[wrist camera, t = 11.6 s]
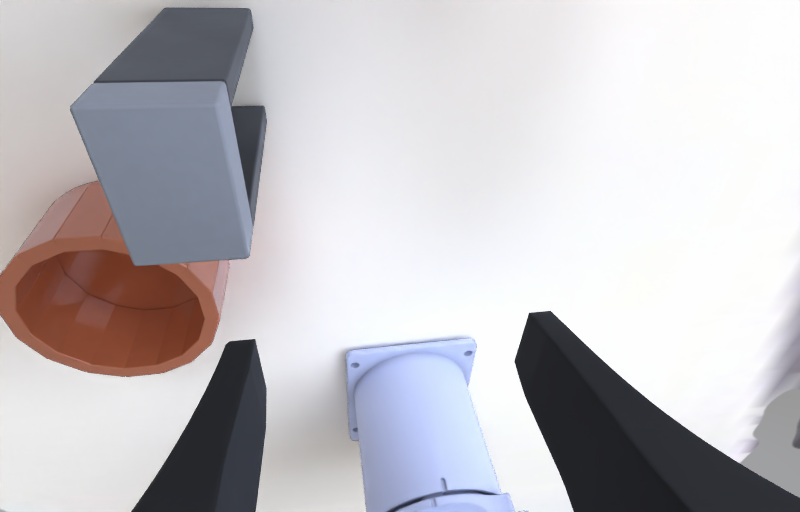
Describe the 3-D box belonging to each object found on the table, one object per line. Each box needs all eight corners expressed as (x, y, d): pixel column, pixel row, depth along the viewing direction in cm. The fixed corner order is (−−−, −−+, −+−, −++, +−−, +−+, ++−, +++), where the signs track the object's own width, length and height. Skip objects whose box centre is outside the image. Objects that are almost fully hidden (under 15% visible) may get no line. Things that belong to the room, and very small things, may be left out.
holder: (241, 304, 24) (233, 366, 21) (81, 318, 23) (49, 385, 20) (210, 174, 20) (194, 231, 17) (7, 183, 19) (-50, 245, 15)
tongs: (267, 122, 19) (249, 259, 12) (192, 124, 18) (133, 267, 12) (250, 7, 16) (218, 103, 10) (163, 7, 16) (66, 107, 9)
